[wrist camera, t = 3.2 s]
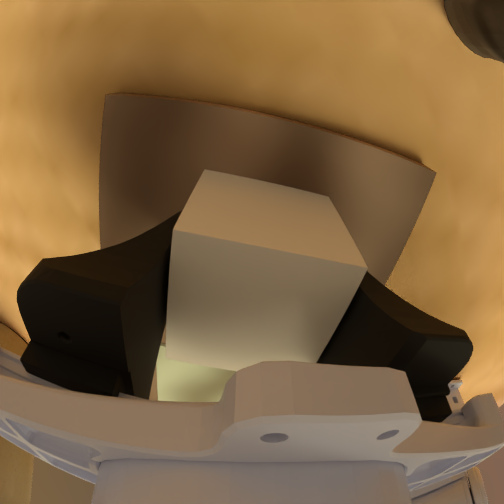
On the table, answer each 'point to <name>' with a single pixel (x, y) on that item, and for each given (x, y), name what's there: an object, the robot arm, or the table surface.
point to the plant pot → (8, 454)
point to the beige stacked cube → (257, 274)
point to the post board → (251, 166)
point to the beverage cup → (479, 25)
